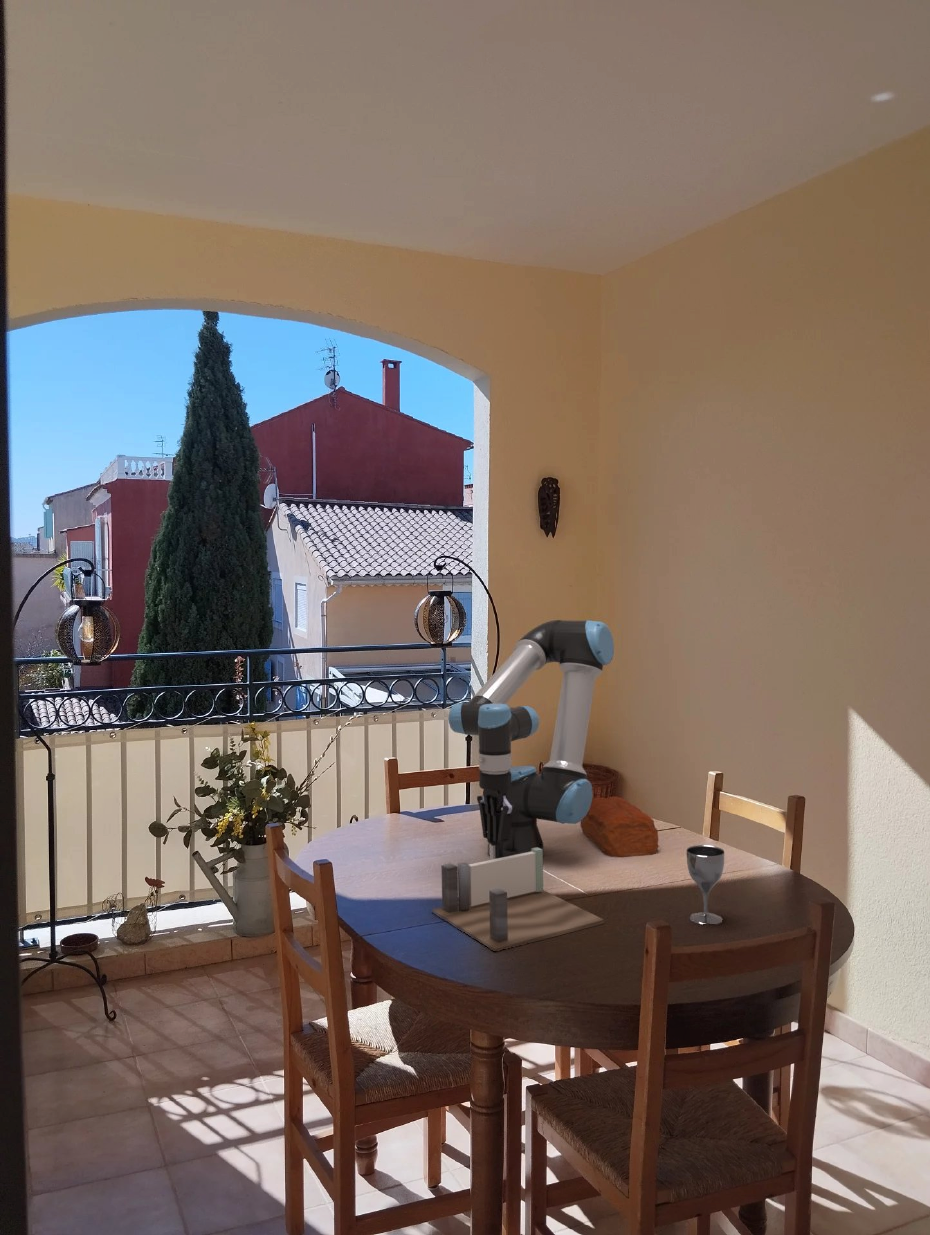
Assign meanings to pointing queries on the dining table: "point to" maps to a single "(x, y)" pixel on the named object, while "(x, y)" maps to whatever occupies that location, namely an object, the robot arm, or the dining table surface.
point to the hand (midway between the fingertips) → (496, 870)
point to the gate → (500, 877)
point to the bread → (620, 828)
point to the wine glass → (705, 876)
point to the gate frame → (511, 915)
